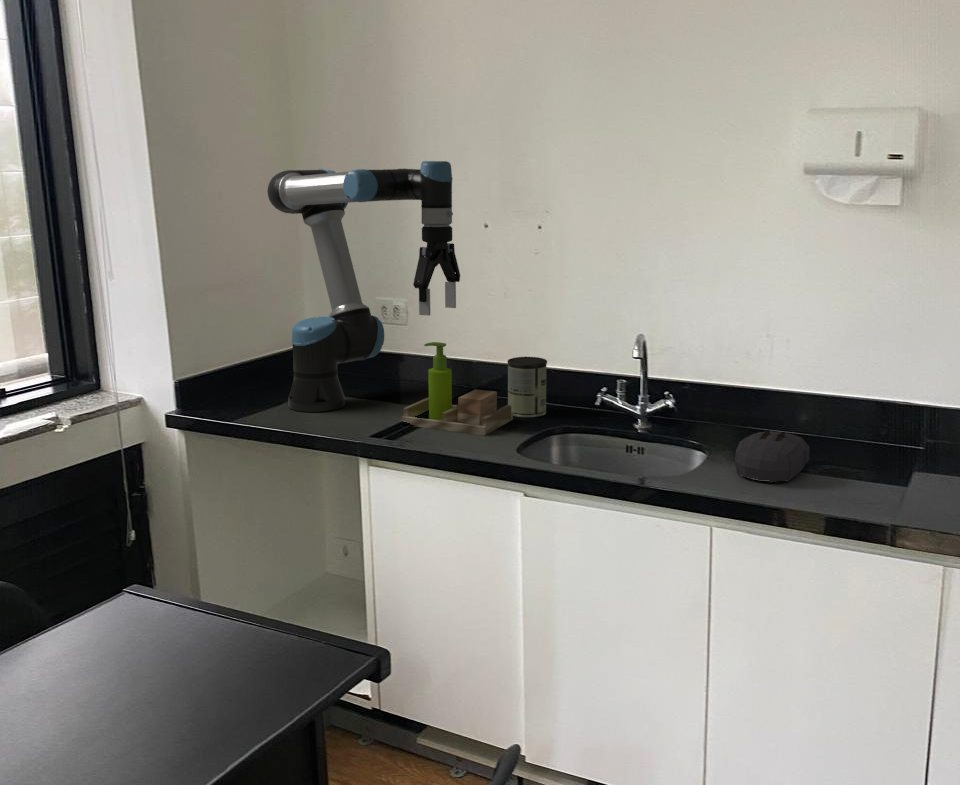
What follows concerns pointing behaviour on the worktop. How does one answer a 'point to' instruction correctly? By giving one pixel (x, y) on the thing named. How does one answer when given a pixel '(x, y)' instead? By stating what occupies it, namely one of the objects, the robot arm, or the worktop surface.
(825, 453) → the worktop surface
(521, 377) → the coffee can
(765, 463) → the slotted dark dome
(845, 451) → the worktop surface
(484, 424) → the rack
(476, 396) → the upper offcut
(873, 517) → the worktop surface
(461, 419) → the lower offcut
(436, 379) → the soap dispenser
